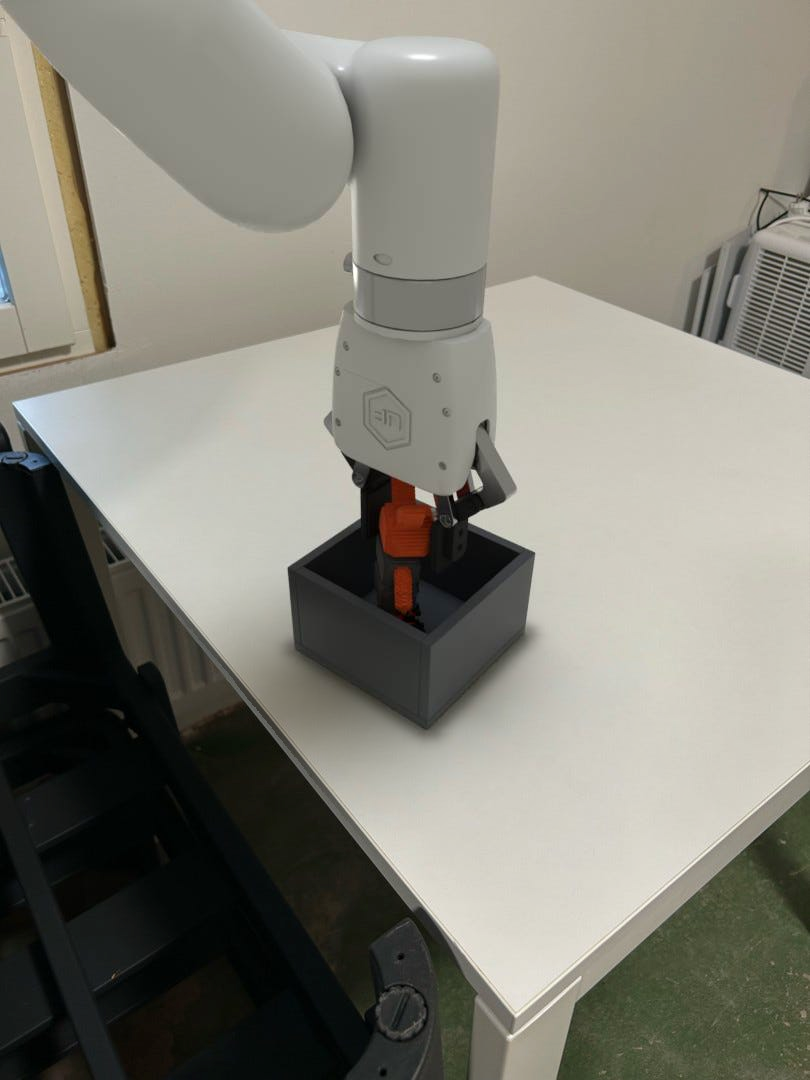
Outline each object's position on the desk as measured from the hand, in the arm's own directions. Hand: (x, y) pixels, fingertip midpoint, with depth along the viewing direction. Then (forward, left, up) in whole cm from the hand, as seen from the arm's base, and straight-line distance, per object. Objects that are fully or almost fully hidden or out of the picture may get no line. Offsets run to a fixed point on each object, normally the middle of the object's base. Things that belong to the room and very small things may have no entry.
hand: (411, 543), depth 58 cm
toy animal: (0, 0, -7) cm, 7 cm away
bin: (0, 0, -9) cm, 9 cm away
